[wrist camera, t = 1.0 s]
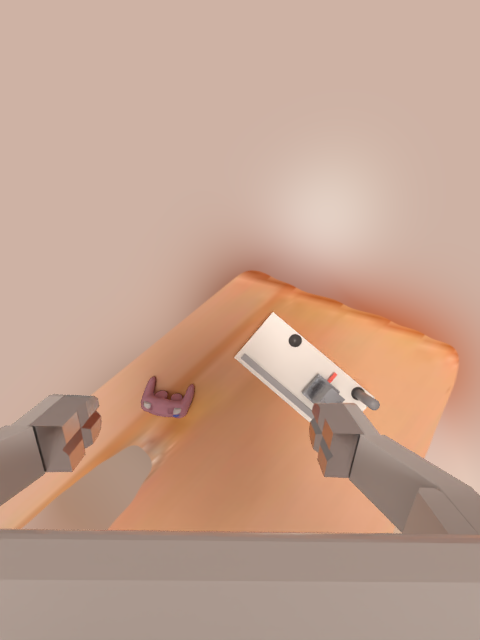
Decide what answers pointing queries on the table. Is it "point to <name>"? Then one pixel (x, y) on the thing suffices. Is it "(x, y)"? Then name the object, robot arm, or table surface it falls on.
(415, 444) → the table surface
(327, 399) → the leg
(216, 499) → the table surface
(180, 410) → the video game controller
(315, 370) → the gauge board
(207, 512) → the table surface
